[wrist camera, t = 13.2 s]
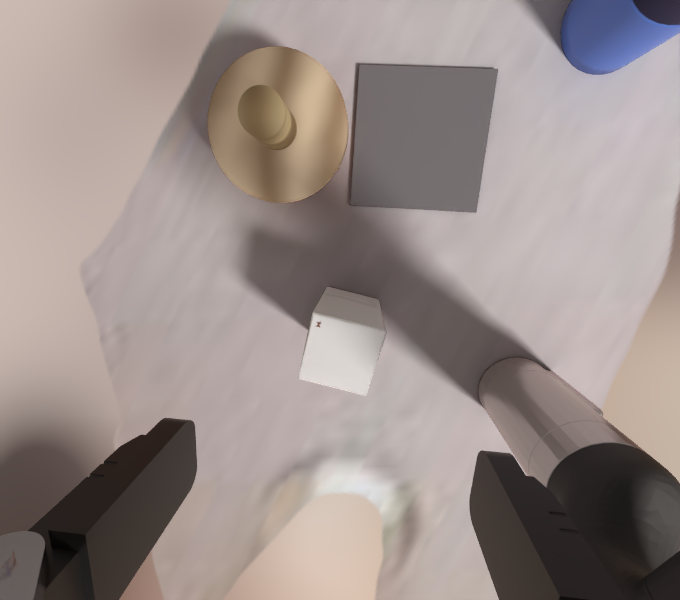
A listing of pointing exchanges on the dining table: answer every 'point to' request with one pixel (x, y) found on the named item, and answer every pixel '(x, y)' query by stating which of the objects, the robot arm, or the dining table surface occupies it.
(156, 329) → the dining table surface
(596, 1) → the water bottle
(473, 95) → the mat
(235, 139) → the lid
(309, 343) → the supplement box
